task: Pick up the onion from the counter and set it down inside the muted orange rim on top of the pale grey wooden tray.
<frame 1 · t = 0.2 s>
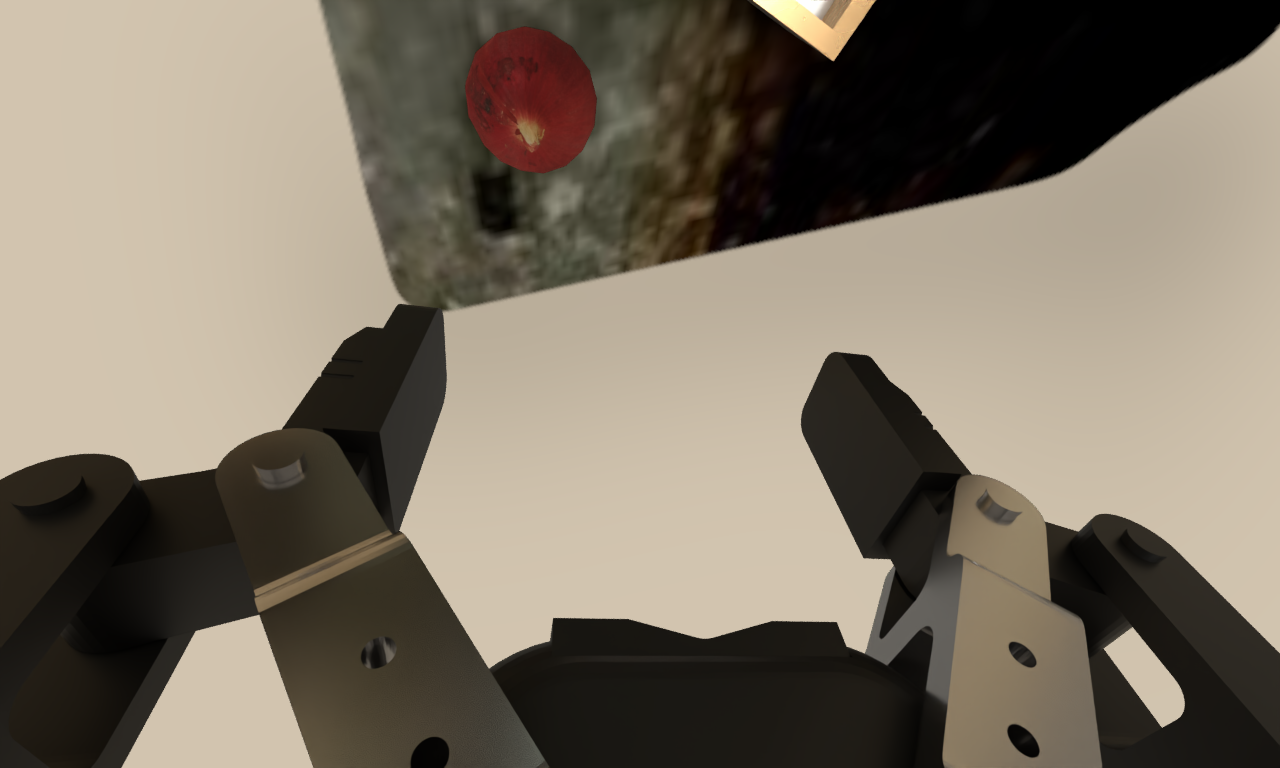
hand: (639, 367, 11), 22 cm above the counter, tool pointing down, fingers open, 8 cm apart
onion: (537, 81, 27), on the counter
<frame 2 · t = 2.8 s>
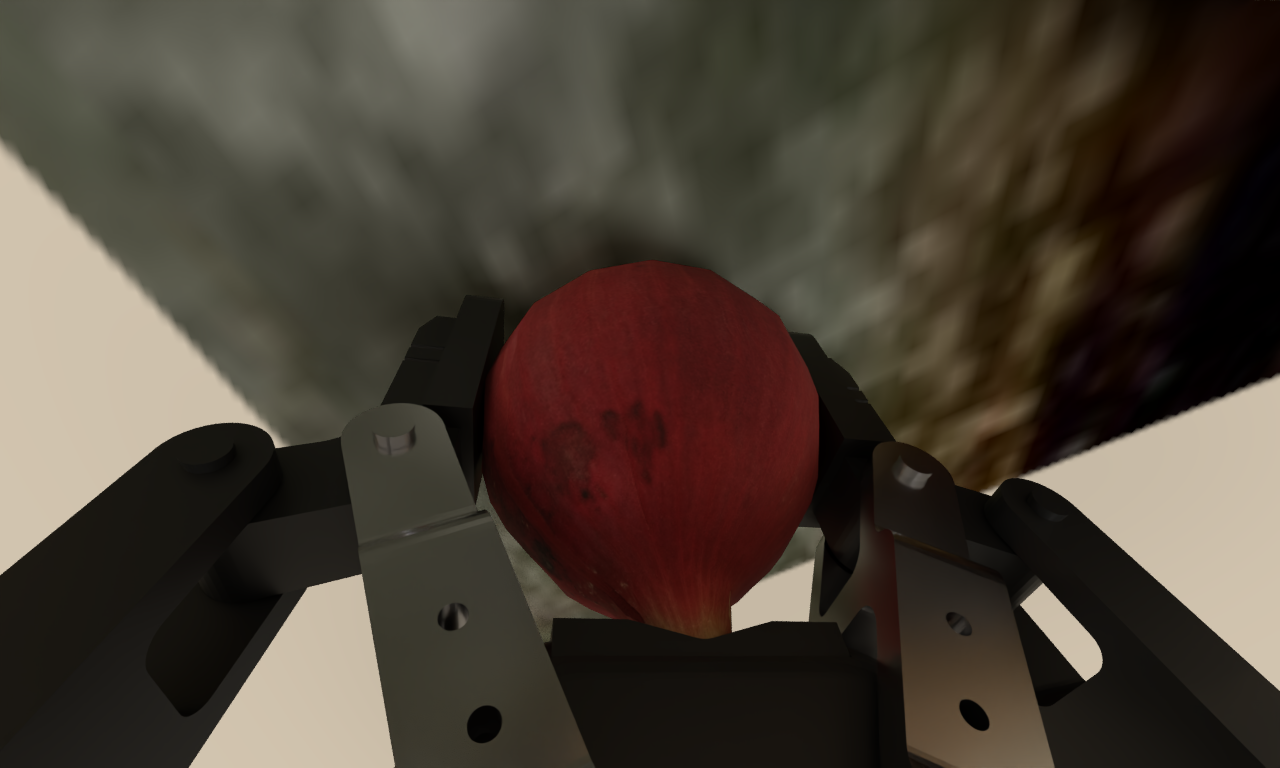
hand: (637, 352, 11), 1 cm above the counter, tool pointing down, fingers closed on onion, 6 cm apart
onion: (633, 320, 13), on the counter, touching gripper
when the fingers open (7 cm above the counter, at t = 8.0 s): onion drops 1 cm, resting on wooden tray.
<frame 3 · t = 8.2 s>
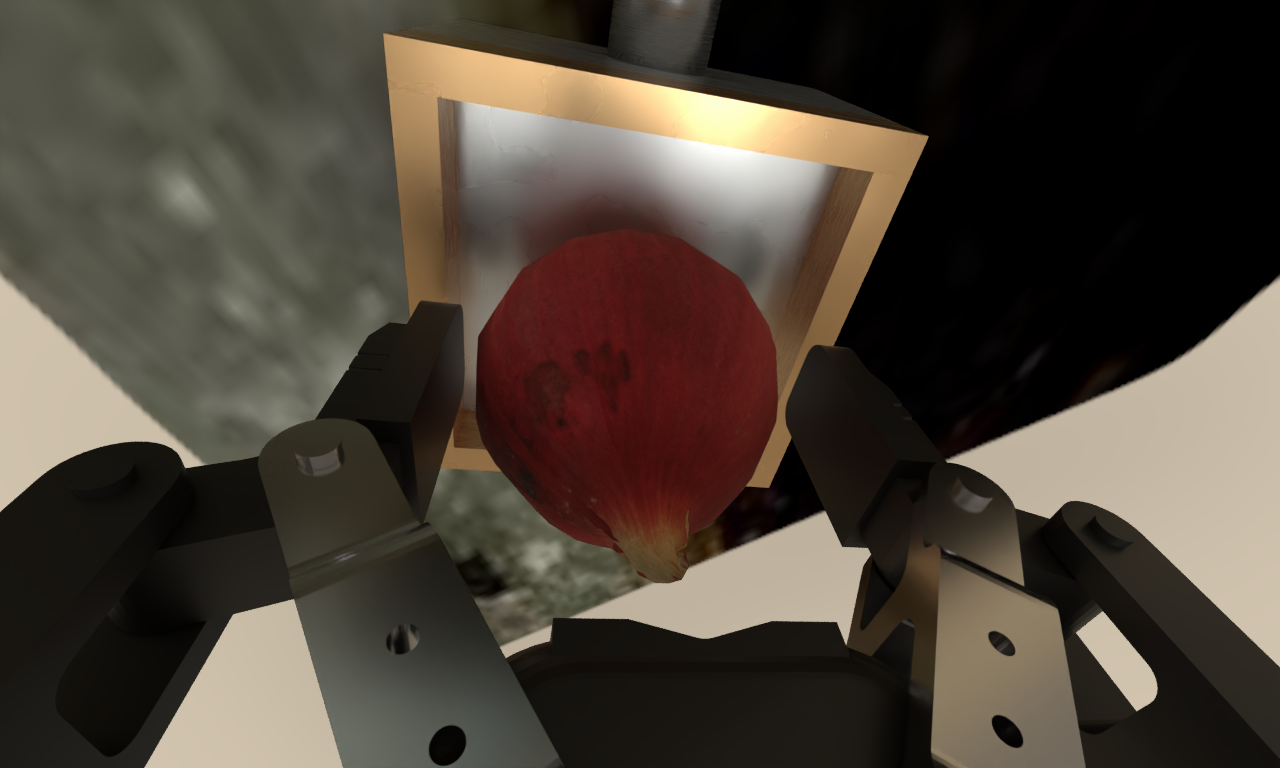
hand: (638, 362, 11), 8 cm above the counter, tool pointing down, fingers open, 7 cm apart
onion: (619, 293, 14), point 5 cm above the counter, touching wooden tray
wooden tray: (620, 229, 17), on the counter
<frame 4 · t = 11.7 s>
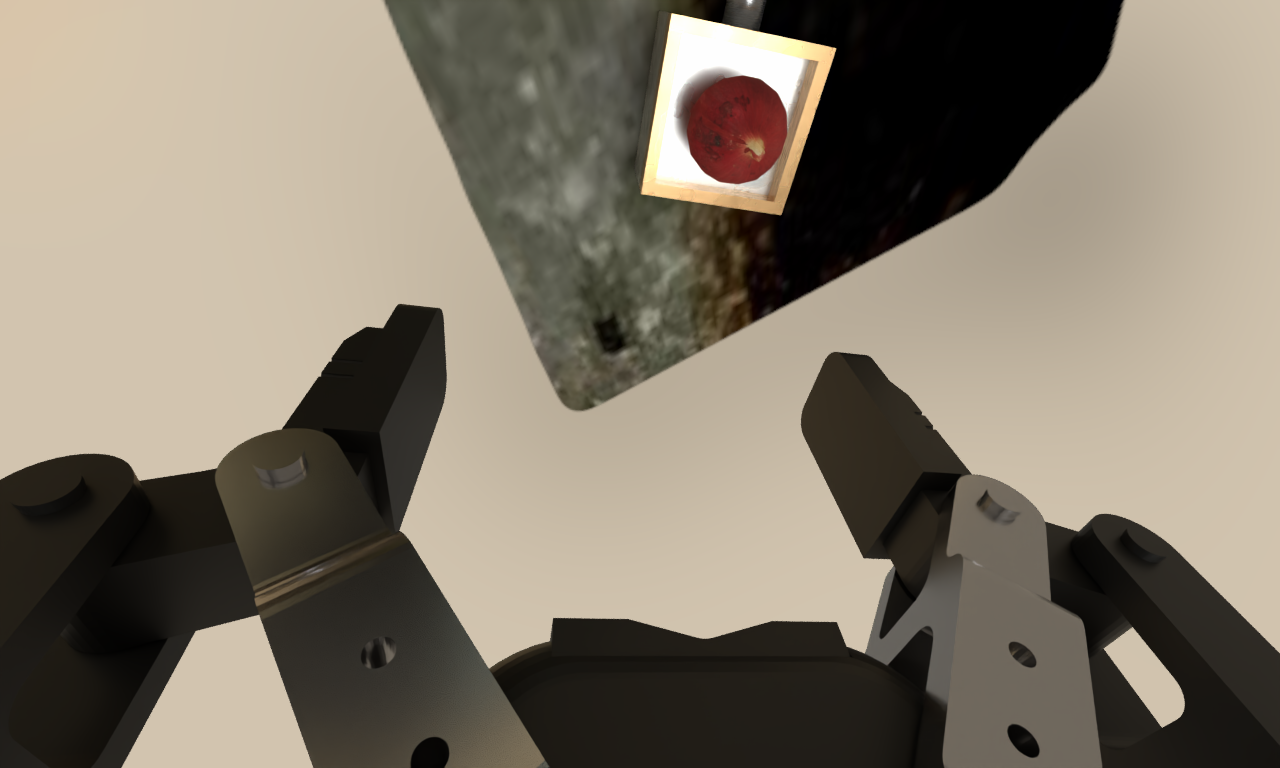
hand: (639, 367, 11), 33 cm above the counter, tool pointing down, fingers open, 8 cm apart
onion: (723, 119, 34), point 5 cm above the counter, touching wooden tray
wooden tray: (712, 107, 38), on the counter
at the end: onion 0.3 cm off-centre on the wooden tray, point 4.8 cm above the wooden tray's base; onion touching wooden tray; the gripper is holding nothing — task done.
